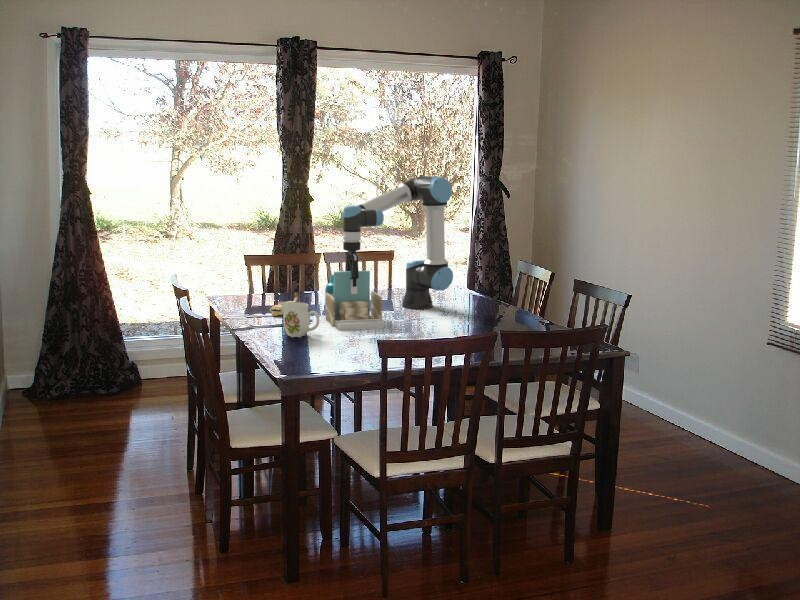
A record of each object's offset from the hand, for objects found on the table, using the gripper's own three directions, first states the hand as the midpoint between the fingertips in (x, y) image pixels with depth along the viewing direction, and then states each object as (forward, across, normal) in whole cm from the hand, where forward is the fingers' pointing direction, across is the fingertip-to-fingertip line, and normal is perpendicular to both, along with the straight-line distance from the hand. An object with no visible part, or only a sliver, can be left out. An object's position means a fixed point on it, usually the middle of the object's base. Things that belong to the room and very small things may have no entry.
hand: (351, 291), depth 355 cm
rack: (+14, +4, 0) cm, 15 cm away
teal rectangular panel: (+13, 0, 0) cm, 13 cm away
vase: (+15, -18, -3) cm, 23 cm away
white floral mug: (+15, +19, -27) cm, 36 cm away
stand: (+14, +15, 0) cm, 21 cm away
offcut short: (+13, +8, 0) cm, 15 cm away
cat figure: (+15, -31, -25) cm, 42 cm away
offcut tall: (+13, +4, 0) cm, 13 cm away
